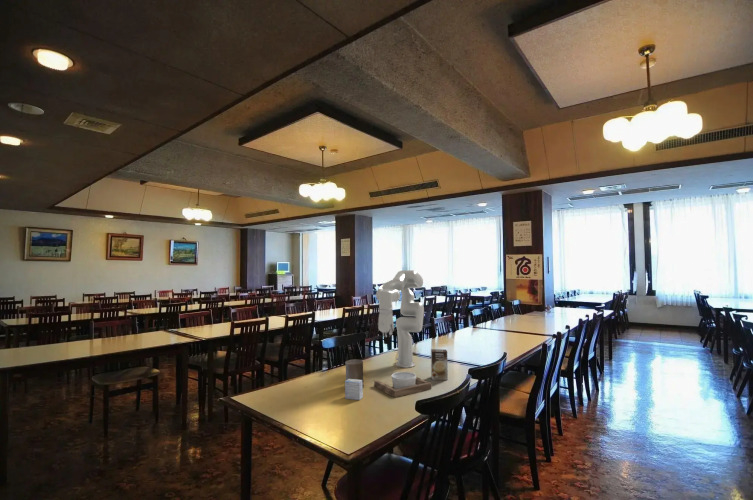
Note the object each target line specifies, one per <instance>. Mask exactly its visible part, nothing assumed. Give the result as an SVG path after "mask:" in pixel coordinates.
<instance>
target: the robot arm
mask: <svg viewBox="0 0 753 500" xmlns="http://www.w3.org/2000/svg"><path fill="white" fill-rule="evenodd" d="M418 272H419V271H418ZM418 272H417V271H416V270H413V269H412V270H411V269H409V270H408V269H407V270H399V271H398V272H397V273H396V274H395V276H394V277H393V279H391V280H389V281H387V282H384V283H383V284H381V285H380V286H379V287H378V289H377V291H376V294H375V296H376V300H377V301H378V305H379V309H378V311H379V314H378V325H377V326H378V327H377V328H378V331H380V332H381V333H382V336H383V344H384V345H389V344H391V335H393V332H394V329H395V327H396V330H397V331H396V334H397V357H396V358H395V360H396V361H397V362H396V363H395V366H396V367H398V368H406V369H407V368H412V367H415V366H416V362H413V360H414V359H413V337H412V335H411V334H410V333H420V332H422V330H423V325H424V315H425V307H424V304H423V302H419V301H415V295H414V292H413V291H412V290H411V289H421V288H422V287H423V284H424V279H423V277H422V275H421V274H419V273H418ZM400 299H401V300H400ZM399 300H400V301H401V302H400V307H399V308H400V314H401V315H402V316H400V317H398V318H397V319H396V321H395V323H394V317H393V314H394V313H393V303H395V302H398V301H399ZM394 324H395V327H394Z"/></svg>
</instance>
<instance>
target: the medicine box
mask: <svg viewBox="0 0 753 500" xmlns="http://www.w3.org/2000/svg"><path fill="white" fill-rule="evenodd" d="M363 385H364V382H363V383H362V380H357V379H348V380H346V379H345V381H344V397H345V398H344V399H345V400H355V401H361V400H362V399H363V397H364V394H363V391H364V389H363V388H364V387H363Z"/></svg>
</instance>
